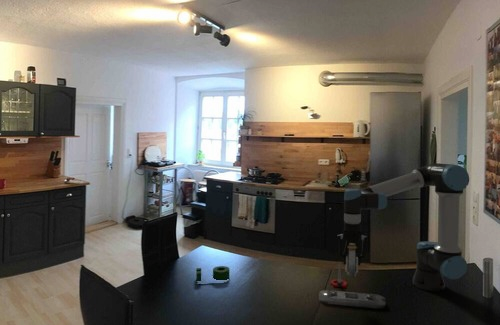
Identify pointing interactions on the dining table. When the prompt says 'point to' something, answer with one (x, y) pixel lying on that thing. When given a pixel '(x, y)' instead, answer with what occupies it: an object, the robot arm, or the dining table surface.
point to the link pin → (351, 259)
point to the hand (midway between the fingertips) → (351, 271)
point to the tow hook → (339, 280)
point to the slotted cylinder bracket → (215, 273)
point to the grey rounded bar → (352, 299)
